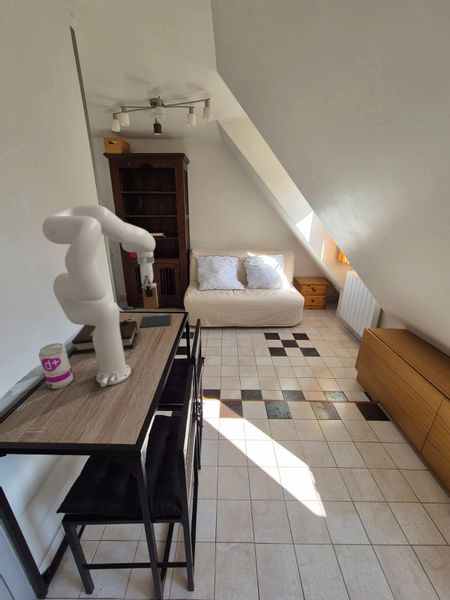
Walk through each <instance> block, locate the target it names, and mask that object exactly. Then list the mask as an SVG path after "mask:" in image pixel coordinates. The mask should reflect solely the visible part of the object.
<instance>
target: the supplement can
mask: <svg viewBox="0 0 450 600" xmlns="http://www.w3.org/2000/svg"><path fill="white" fill-rule="evenodd" d="M38 358H39V361H40V364H41V368H42V371H43V374H44V377H45V380H46V384H47V387H49V388H50V389H54V390H57V389H61V388H65V387H66V386H68V385H69V384H71V382H72V381H73V380H74V375H73V371H72V367H71V364H70V360H69V355H68V352H67V348H66V346H65V345H63V344H62V343H59V342H57V343H55V342H54V343H51V344H47V345H45V346H43V347H41V348H40V350H39V353H38Z"/></svg>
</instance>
